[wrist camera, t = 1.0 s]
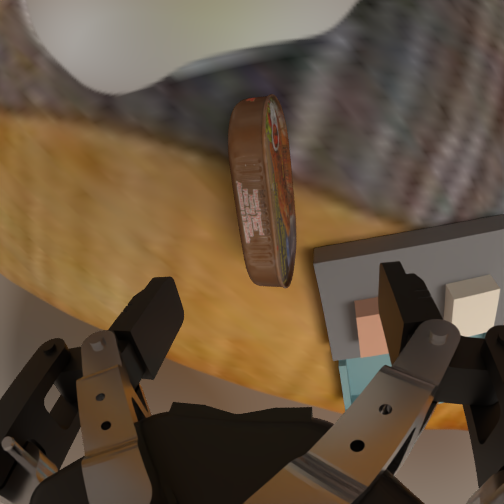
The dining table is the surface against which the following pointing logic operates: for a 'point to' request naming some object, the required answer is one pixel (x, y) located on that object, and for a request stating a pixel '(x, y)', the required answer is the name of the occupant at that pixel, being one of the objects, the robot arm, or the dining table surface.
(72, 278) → the dining table surface
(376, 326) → the terracotta tile
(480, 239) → the grey stone slab
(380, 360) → the tray
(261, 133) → the tin
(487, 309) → the cream tile
